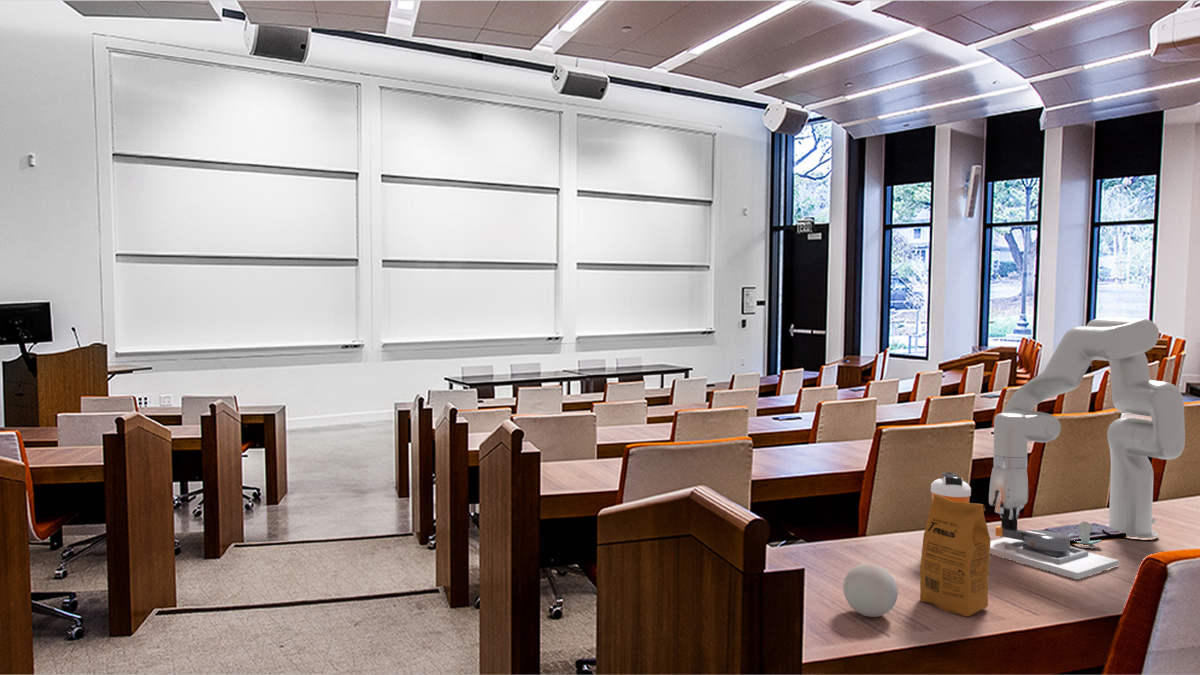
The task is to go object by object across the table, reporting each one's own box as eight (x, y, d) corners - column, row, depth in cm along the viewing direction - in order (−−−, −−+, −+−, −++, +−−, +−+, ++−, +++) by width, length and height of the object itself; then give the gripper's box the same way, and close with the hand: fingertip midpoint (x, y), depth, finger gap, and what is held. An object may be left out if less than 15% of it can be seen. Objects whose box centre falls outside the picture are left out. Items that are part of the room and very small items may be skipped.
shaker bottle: (961, 550, 191) (963, 471, 191) (975, 562, 182) (977, 479, 182) (924, 549, 192) (926, 470, 191) (936, 561, 183) (938, 478, 183)
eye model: (835, 605, 155) (835, 557, 155) (883, 604, 156) (884, 556, 155) (854, 626, 145) (855, 574, 145) (906, 624, 146) (907, 573, 145)
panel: (1018, 540, 201) (1018, 530, 201) (1118, 566, 180) (1118, 555, 180) (977, 550, 192) (977, 540, 191) (1077, 580, 171) (1078, 568, 171)
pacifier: (1094, 552, 192) (1103, 547, 195) (1094, 528, 191) (1104, 523, 195) (1062, 545, 198) (1072, 540, 201) (1063, 521, 197) (1072, 517, 201)
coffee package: (941, 591, 164) (943, 489, 163) (996, 611, 153) (999, 502, 152) (910, 599, 159) (912, 494, 158) (965, 620, 148) (968, 508, 147)
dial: (1074, 551, 186) (1074, 534, 186) (1064, 561, 179) (1065, 543, 179) (1002, 538, 197) (1002, 521, 197) (990, 546, 190) (990, 529, 190)
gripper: (1012, 456, 200) (1011, 525, 201) (978, 462, 193) (977, 534, 193) (1041, 461, 194) (1040, 532, 195) (1007, 468, 186) (1006, 542, 187)
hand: (1009, 533), depth 194 cm, fingers closed
